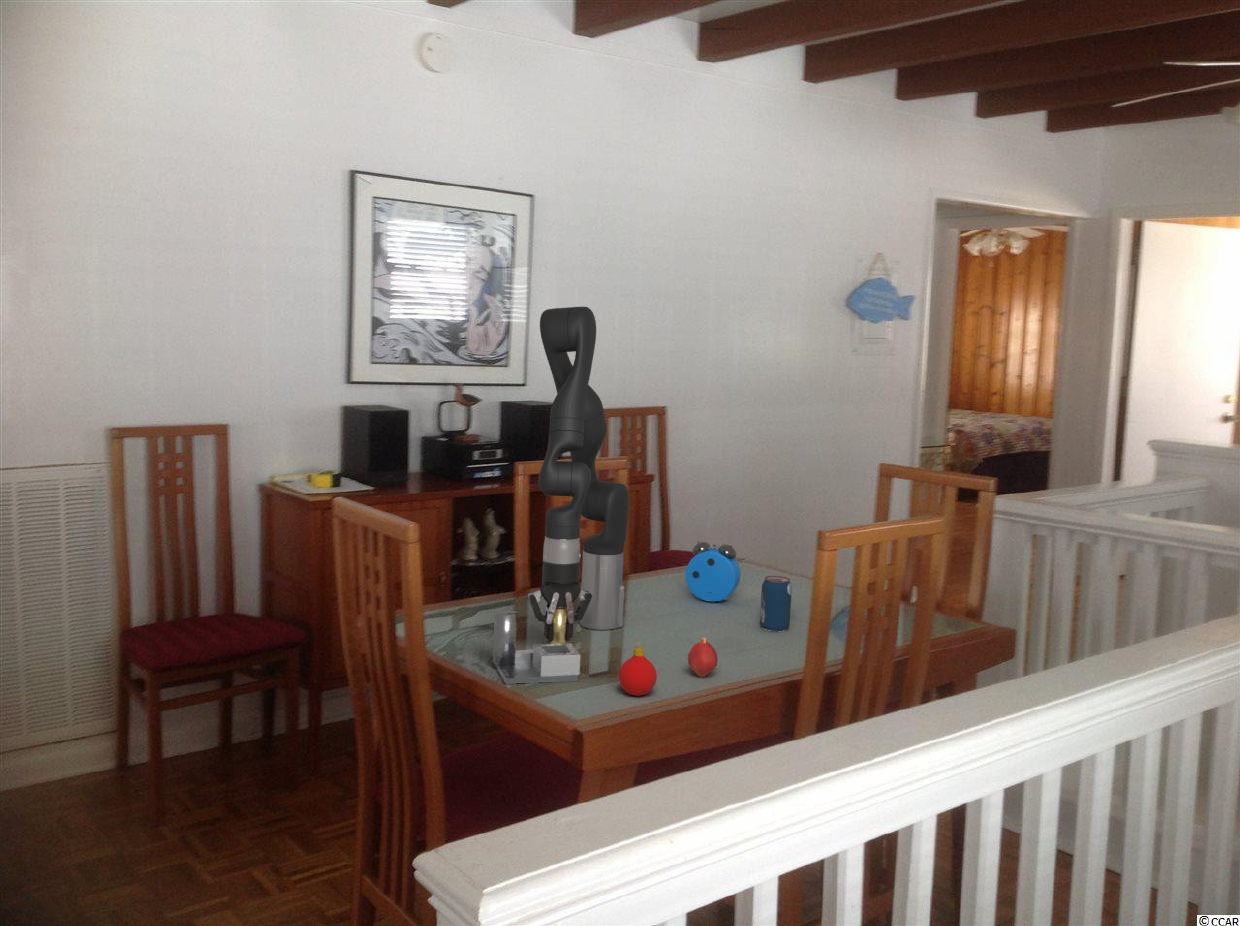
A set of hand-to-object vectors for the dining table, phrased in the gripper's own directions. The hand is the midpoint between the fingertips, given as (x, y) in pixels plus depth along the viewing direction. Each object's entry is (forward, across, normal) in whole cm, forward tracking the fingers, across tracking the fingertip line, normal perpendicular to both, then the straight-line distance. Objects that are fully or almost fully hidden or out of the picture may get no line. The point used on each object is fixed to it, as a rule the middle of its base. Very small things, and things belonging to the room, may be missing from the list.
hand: (558, 639), depth 223 cm
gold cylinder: (+3, 0, 0) cm, 3 cm away
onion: (+3, -25, +18) cm, 31 cm away
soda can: (+3, -55, -13) cm, 57 cm away
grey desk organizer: (+3, +7, +11) cm, 13 cm away
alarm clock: (+3, -50, -40) cm, 64 cm away
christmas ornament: (+3, -9, +26) cm, 28 cm away
